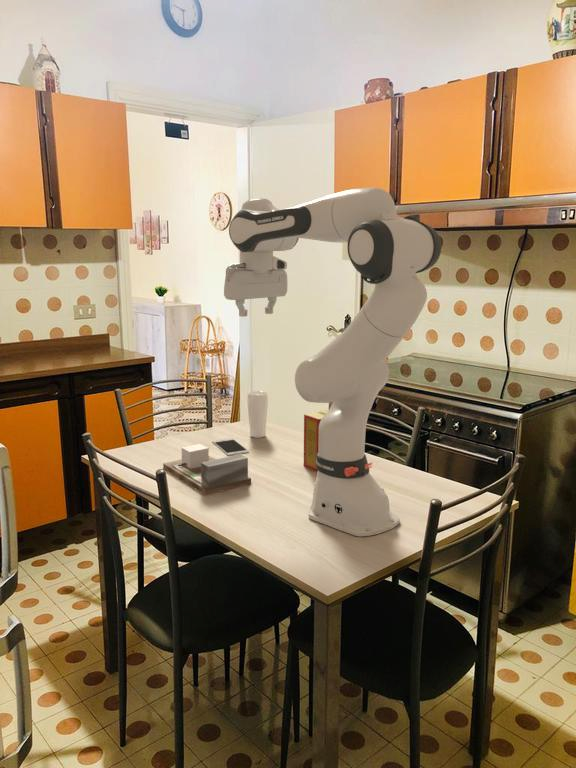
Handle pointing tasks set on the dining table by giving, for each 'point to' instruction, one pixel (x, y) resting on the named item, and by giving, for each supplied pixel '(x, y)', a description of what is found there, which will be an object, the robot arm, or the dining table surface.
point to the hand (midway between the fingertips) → (256, 315)
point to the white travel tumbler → (257, 413)
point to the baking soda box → (312, 438)
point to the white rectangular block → (194, 455)
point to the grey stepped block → (213, 473)
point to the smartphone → (230, 447)
